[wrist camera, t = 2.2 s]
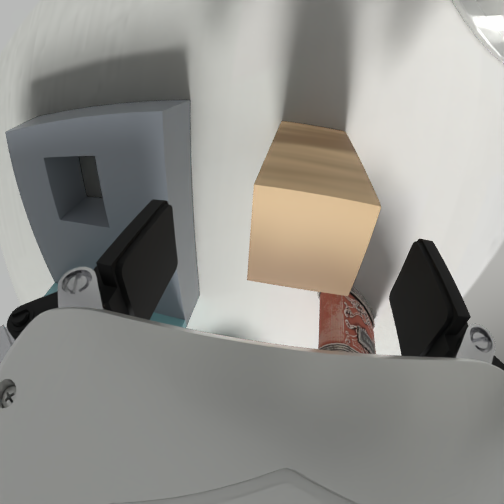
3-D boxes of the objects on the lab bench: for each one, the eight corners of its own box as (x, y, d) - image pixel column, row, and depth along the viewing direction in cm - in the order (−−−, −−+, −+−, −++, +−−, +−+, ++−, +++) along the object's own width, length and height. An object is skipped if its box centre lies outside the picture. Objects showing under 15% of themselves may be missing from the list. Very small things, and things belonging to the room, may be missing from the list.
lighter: (380, 320, 25) (389, 414, 18) (351, 332, 27) (352, 423, 19) (342, 269, 22) (348, 380, 15) (308, 286, 24) (300, 392, 16)
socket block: (33, 117, 18) (-103, 210, 5) (197, 100, 16) (-33, 250, 4) (73, 265, 29) (-1, 369, 17) (204, 296, 27) (145, 452, 15)
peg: (281, 120, 16) (253, 184, 8) (345, 131, 16) (381, 206, 8) (275, 177, 19) (247, 280, 11) (334, 187, 18) (348, 296, 11)
